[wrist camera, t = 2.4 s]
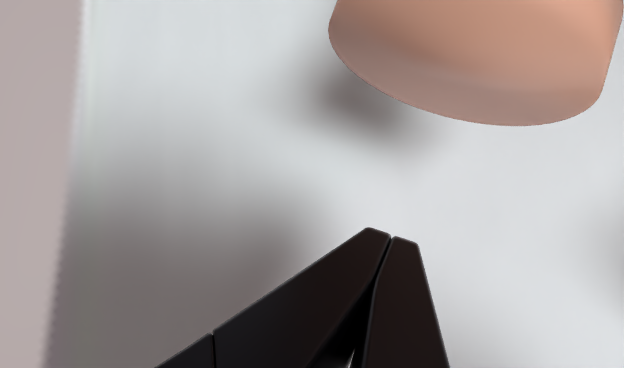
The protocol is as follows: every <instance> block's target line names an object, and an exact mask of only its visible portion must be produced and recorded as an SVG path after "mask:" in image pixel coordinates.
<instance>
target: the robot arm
mask: <svg viewBox="0 0 624 368" xmlns="http://www.w3.org/2000/svg"><path fill="white" fill-rule="evenodd" d="M353 353H354V354H353ZM352 356H353V358H352ZM351 358H352V361H351ZM350 361H351V365H350V368H450V366H449V362H448V358H447V354H446V350H445V346H444V342H443V338H442V335H441V331H440V327H439V323H438V319H437V315H436V311H435V307H434V304H433V300H432V296H431V292H430V288H429V284H428V280H427V276H426V273H425V269H424V265H423V261H422V257H421V253H420V249H419V246H418V244H417V243H415V242H413V241H410V240H407V239H404V238H401V237H398V236H395V237H393V238H392V239H391V235H390V234H388V233H386V232H383V231H380V230H377V229H374V228H370V227H368V228H365V229H364V230H362V231H361V232H359V233H358V234H356V235H355V236H353V237H352V238H350V239H349V240H347V241H346V242H344V243H343V244H341V245H340V246H338V247H337V248H335V249H334V250H332V251H331V252H329V253H328V254H326V255H325V256H323V257H322V258H320V259H319V260H317V261H316V262H314V263H313V264H311V265H310V266H308V267H307V268H305V269H304V270H302V271H301V272H299V273H298V274H296V275H295V276H293V277H292V278H290V279H289V280H287V281H286V282H284V283H283V284H281V285H280V286H278V287H277V288H275V289H274V290H272V291H271V292H269V293H268V294H266V295H265V296H263V297H262V298H260V299H259V300H257V301H256V302H254V303H253V304H251V305H250V306H248V307H247V308H245V309H244V310H242V311H241V312H239V313H238V314H236V315H235V316H233V317H232V318H230V319H229V320H227V321H226V322H225V323H223V324H222V325H220V326H219V327H217V328H216V329H214V330H213V335H212V334H211V333H208V334H206V335H205V336H203V337H202V338H200V339H199V340H197V341H196V342H194V343H193V344H191V345H190V346H188V347H187V348H185V349H184V350H182V351H180V352H179V353H177V354H176V355H174V356H172V357H171V358H169V359H168V360H166V361H165V362H163V363H161V364H160V365H158V366H157V367H155V368H348V366H349V364H350Z"/></svg>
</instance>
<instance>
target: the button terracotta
mask: <svg viewBox="0 0 624 368" xmlns="http://www.w3.org/2000/svg"><path fill="white" fill-rule="evenodd" d="M623 9H624V7H623V0H338V1H337V3H336V6H335V9H334V11H333V14H332V16H331V19H330V22H329V29H328V32H329V39H330V42H331V44H332V47H333V49H334V50H335V52H336V54H337V55H338V56H339V58H340V59H341V60H342V61H343V63H344V64H345V65H346V66H347V67H348V68H349V69H350V70H351V71H353V72H354V73H355V74H356V75H357V76H359V77H360V78H361V79H363V80H364V81H365V82H367V83H368V84H370V85H371V86H373V87H375V88H376V89H378V90H380V91H381V92H383V93H385V94H387V95H389V96H391V97H393V98H395V99H397V100H399V101H402V102H404V103H406V104H409V105H411V106H414V107H416V108H419V109H422V110H425V111H428V112H431V113H435V114H438V115H441V116H445V117H449V118H453V119H458V120H463V121H468V122H474V123H480V124H489V125H500V126H531V125H542V124H548V123H554V122H558V121H562V120H565V119H568V118H571V117H574V116H576V115H578V114H580V113H582V112H584V111H585V110H587V109H588V108H589V107H591V106H592V105H593V104H594V103H595V102H596V100H597V99H598V98H599V96H600V94H601V92H602V89H603V86H604V82H605V79H606V75H607V72H608V68H609V64H610V61H611V57H612V54H613V50H614V47H615V43H616V39H617V36H618V32H619V29H620V25H621V21H622V16H623Z"/></svg>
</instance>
